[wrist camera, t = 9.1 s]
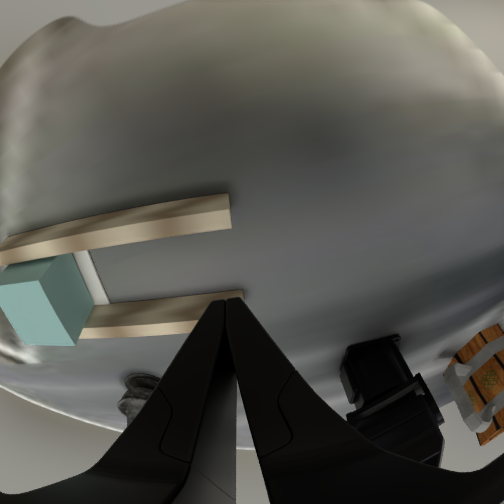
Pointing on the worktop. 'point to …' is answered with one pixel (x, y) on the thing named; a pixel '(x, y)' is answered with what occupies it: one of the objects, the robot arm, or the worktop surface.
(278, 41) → the worktop surface
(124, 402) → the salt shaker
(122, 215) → the chute
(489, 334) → the mug
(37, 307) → the block
